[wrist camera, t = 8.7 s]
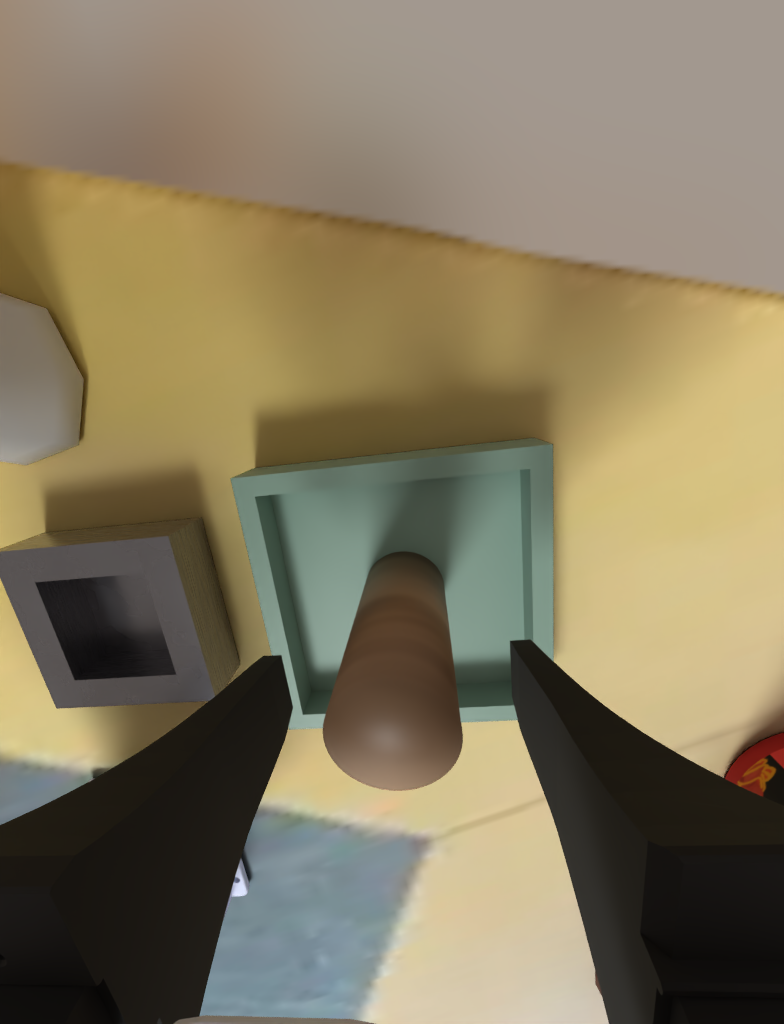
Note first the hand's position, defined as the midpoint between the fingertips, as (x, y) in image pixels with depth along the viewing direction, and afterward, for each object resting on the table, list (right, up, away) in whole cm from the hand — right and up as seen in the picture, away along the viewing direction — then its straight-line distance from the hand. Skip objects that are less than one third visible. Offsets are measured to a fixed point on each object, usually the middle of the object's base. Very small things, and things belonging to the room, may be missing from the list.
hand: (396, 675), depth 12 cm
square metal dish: (-12, +1, +7) cm, 14 cm away
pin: (0, +2, +5) cm, 6 cm away
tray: (+1, +2, +6) cm, 6 cm away
